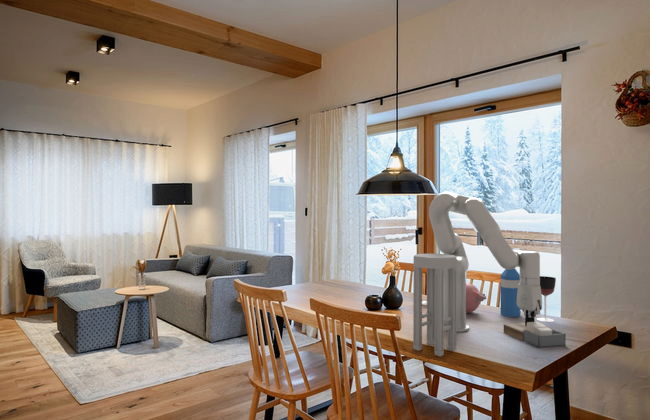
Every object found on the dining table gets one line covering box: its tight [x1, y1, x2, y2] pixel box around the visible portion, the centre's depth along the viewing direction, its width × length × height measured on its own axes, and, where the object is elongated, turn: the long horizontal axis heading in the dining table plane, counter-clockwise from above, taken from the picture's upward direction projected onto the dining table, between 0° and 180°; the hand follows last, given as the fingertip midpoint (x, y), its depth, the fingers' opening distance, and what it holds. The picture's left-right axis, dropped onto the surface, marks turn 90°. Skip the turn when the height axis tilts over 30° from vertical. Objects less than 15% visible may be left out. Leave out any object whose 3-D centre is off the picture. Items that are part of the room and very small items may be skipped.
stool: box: [412, 253, 457, 357], centre depth 162 cm, size 16×16×35 cm
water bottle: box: [500, 268, 522, 318], centre depth 216 cm, size 9×9×25 cm
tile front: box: [535, 326, 552, 335], centre depth 170 cm, size 5×5×3 cm
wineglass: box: [536, 275, 557, 323], centre depth 206 cm, size 8×9×20 cm
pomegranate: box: [466, 281, 487, 314], centre depth 218 cm, size 15×20×15 cm
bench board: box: [503, 322, 530, 342], centre depth 180 cm, size 12×12×4 cm
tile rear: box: [526, 321, 547, 334], centre depth 173 cm, size 5×5×3 cm
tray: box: [522, 327, 567, 349], centre depth 170 cm, size 12×8×4 cm
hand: (529, 326), depth 178 cm, fingers closed
